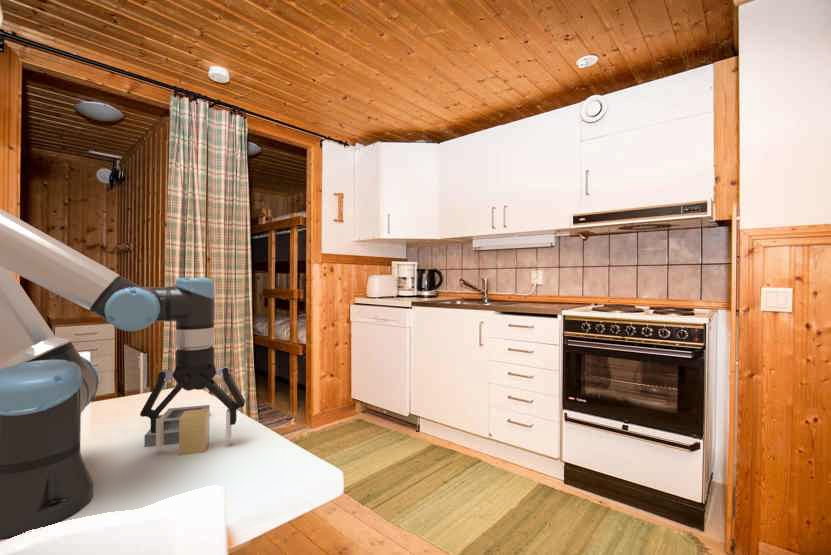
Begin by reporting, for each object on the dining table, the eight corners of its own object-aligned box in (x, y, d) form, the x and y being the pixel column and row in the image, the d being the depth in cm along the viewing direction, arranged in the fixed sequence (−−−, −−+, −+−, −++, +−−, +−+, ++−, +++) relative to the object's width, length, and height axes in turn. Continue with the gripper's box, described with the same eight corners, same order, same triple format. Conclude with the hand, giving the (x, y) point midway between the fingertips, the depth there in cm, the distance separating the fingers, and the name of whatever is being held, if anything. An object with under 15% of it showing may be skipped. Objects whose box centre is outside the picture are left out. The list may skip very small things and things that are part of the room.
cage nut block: (205, 452, 87) (205, 415, 87) (179, 455, 85) (179, 418, 85) (209, 443, 92) (209, 408, 92) (184, 446, 90) (184, 410, 90)
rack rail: (194, 441, 93) (194, 430, 93) (144, 446, 90) (144, 435, 90) (209, 413, 112) (209, 404, 112) (168, 417, 109) (168, 408, 109)
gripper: (256, 341, 96) (256, 430, 96) (135, 347, 88) (135, 443, 88) (254, 346, 89) (254, 442, 89) (122, 353, 81) (122, 458, 81)
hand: (195, 443), depth 88 cm, fingers open, 13 cm apart
